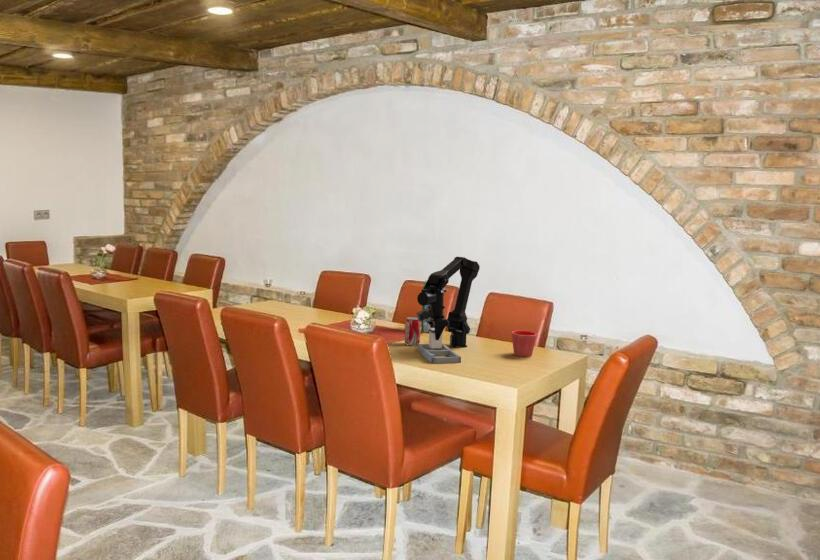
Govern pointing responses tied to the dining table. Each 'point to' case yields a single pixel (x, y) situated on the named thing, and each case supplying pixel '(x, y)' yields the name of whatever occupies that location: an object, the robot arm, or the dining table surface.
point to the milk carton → (424, 324)
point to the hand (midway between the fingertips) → (435, 338)
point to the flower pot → (523, 342)
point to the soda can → (412, 331)
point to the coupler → (434, 339)
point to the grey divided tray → (438, 354)
